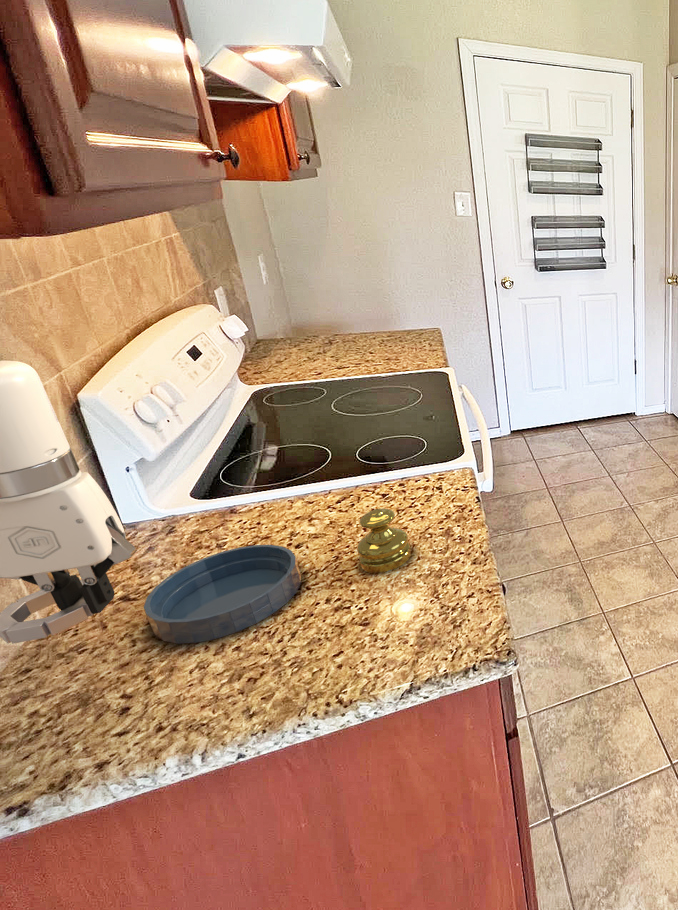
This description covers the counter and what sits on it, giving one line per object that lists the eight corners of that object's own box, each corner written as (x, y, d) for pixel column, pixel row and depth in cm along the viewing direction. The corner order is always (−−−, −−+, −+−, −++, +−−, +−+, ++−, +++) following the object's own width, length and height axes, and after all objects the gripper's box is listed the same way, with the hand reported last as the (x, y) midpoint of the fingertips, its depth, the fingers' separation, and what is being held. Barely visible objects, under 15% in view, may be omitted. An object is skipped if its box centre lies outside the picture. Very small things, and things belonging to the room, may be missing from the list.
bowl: (127, 661, 75) (115, 634, 74) (189, 579, 91) (181, 556, 89) (281, 631, 81) (272, 606, 79) (316, 559, 96) (309, 536, 94)
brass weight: (372, 583, 91) (359, 530, 87) (354, 563, 95) (341, 512, 92) (419, 561, 96) (409, 511, 92) (401, 543, 101) (390, 494, 97)
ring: (-21, 650, 63) (-29, 637, 62) (34, 599, 70) (28, 588, 69) (77, 632, 65) (71, 619, 65) (121, 585, 73) (116, 574, 72)
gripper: (-107, 503, 56) (-23, 646, 63) (98, 479, 61) (156, 614, 68) (-43, 468, 63) (27, 601, 70) (137, 449, 68) (186, 575, 75)
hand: (90, 607), depth 69 cm, fingers closed on ring, 1 cm apart
